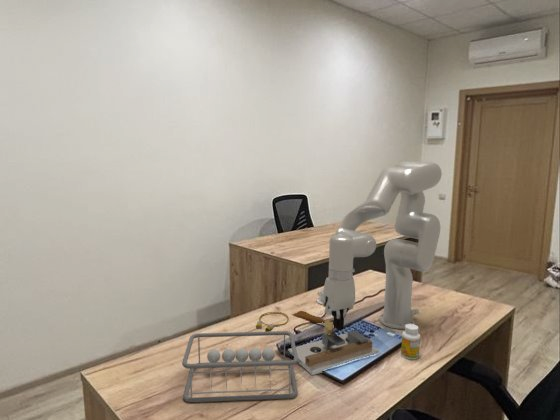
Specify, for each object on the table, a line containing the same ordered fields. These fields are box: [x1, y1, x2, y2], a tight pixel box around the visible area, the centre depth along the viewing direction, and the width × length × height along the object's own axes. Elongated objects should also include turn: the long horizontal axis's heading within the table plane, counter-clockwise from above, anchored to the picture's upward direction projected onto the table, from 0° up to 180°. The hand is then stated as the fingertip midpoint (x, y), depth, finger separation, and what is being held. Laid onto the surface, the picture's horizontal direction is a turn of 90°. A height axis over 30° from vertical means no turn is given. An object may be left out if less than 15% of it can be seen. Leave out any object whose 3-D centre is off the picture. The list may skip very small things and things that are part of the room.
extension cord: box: [255, 311, 289, 332], centre depth 150 cm, size 12×16×2 cm
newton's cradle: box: [181, 330, 299, 403], centre depth 111 cm, size 30×10×18 cm
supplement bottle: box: [400, 323, 421, 360], centre depth 126 cm, size 5×5×10 cm
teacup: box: [316, 288, 324, 305], centre depth 170 cm, size 10×10×5 cm
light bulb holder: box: [321, 318, 345, 347], centre depth 126 cm, size 3×8×8 cm, turn 29°
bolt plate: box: [287, 330, 380, 376], centre depth 127 cm, size 25×14×4 cm, turn 119°
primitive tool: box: [291, 310, 325, 324], centre depth 151 cm, size 19×6×4 cm, turn 44°
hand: (338, 328), depth 130 cm, fingers closed
